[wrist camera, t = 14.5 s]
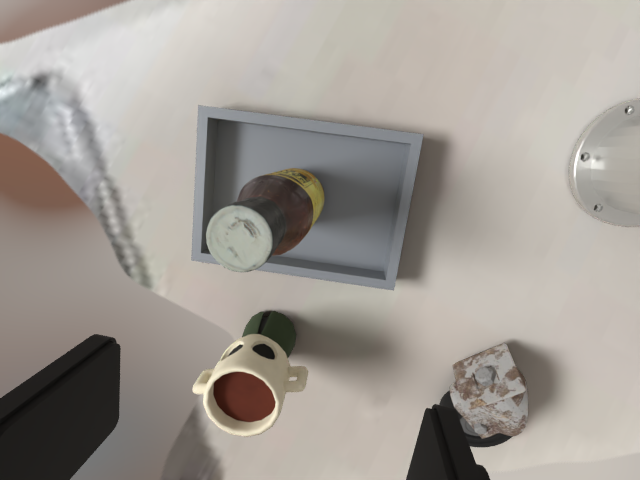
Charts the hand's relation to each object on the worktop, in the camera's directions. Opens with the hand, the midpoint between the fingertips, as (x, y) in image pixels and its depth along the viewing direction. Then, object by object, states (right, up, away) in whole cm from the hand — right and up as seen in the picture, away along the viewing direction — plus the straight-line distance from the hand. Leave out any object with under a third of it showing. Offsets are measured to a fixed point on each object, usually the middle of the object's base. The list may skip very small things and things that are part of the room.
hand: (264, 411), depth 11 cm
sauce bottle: (-1, +10, +29) cm, 31 cm away
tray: (0, +10, +29) cm, 31 cm away
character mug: (-4, -6, +34) cm, 35 cm away
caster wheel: (+21, -14, +34) cm, 42 cm away
